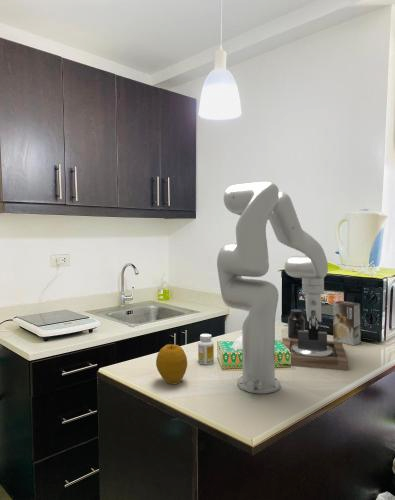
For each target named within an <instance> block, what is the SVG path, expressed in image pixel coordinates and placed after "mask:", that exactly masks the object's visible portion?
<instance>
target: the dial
mask: <svg viewBox="0 0 395 500" xmlns="http://www.w3.org/2000/svg"><path fill="white" fill-rule="evenodd" d="M327 341H328V331H319V330H318V340H309V331H308V330H305V331H303V330H298V343H297V344H294V345H293V346H292V352H293V353H294V354H297V355H310V356H323V357H331V356H332V355H333V349H332V348H331V347H329V346H327Z"/></svg>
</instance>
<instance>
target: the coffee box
mask: <svg viewBox="0 0 395 500" xmlns="http://www.w3.org/2000/svg"><path fill="white" fill-rule="evenodd" d="M332 305H333V310H332V311H333V312H332V313H333V314H332V315H333V318H332V320H333V329H332V330H333V332H332V333H333V340H332V341H337V342H342V344H346V345H350V346H356V345H358V344H360V343H361V342H362V341H361V326H360V325H361V322H362V321H361V317H362V316H361V313H362V312H361V311H362V309H361V305H362V304H361V303H359V302H351V301H346V300H345V301H343V300H338V301H335V302H333V304H332Z"/></svg>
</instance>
